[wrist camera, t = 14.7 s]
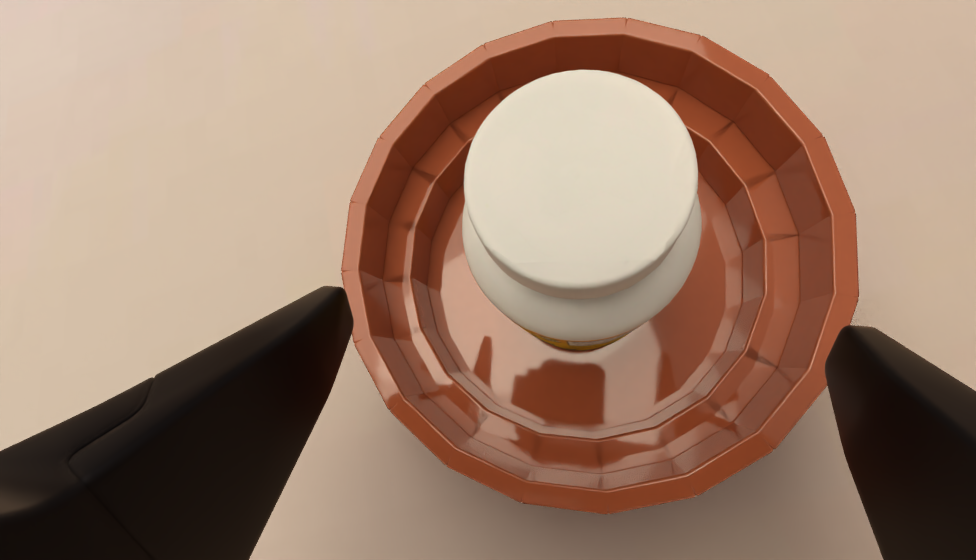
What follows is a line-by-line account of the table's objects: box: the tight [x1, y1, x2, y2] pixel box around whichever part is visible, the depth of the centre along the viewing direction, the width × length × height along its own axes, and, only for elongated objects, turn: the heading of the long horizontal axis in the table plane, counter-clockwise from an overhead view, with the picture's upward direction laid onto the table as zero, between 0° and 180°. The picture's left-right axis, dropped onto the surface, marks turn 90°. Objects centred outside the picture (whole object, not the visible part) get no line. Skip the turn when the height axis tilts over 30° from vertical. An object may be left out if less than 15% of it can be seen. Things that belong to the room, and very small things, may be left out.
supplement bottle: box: [462, 70, 702, 351], centre depth 13 cm, size 5×5×10 cm
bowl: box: [341, 18, 859, 514], centre depth 16 cm, size 14×14×4 cm
